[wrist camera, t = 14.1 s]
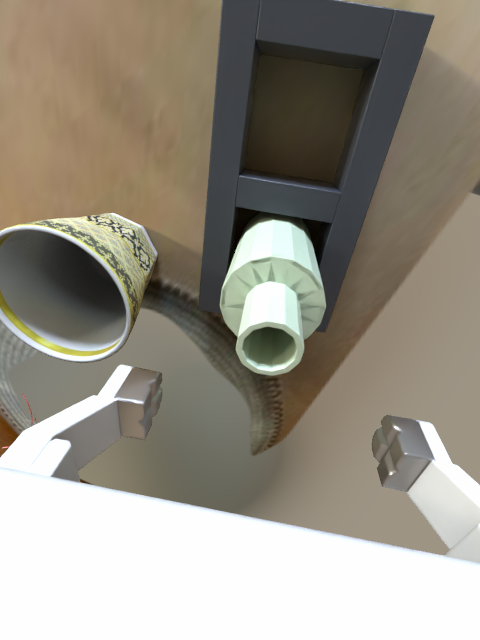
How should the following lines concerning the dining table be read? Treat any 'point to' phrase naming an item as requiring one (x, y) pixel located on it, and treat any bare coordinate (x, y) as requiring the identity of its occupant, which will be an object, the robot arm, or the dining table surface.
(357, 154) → the holder
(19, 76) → the dining table surface
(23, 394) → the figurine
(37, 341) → the ceramic cup
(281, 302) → the bottle
